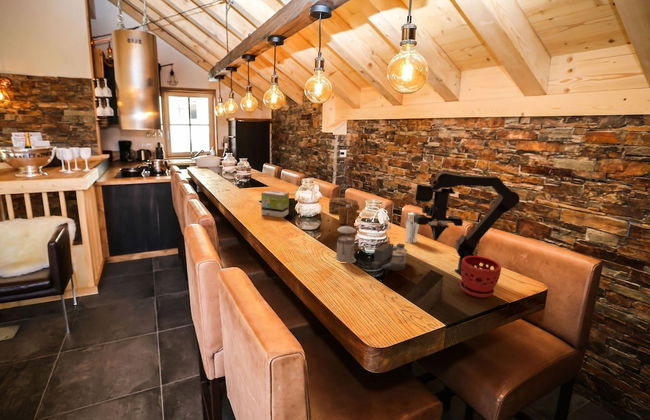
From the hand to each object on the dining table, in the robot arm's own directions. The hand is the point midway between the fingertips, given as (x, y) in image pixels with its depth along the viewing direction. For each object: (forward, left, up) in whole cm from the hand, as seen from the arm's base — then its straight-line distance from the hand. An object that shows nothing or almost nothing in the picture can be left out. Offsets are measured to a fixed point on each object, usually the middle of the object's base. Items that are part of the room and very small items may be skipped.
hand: (435, 240), depth 147 cm
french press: (+15, +34, -13) cm, 39 cm away
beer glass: (+36, -8, -13) cm, 40 cm away
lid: (+4, +18, -7) cm, 19 cm away
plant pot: (-22, -6, -13) cm, 26 cm away
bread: (+100, +10, -14) cm, 101 cm away
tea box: (+97, +57, -13) cm, 113 cm away
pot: (+4, +18, -13) cm, 22 cm away
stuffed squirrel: (+72, +15, -13) cm, 75 cm away
